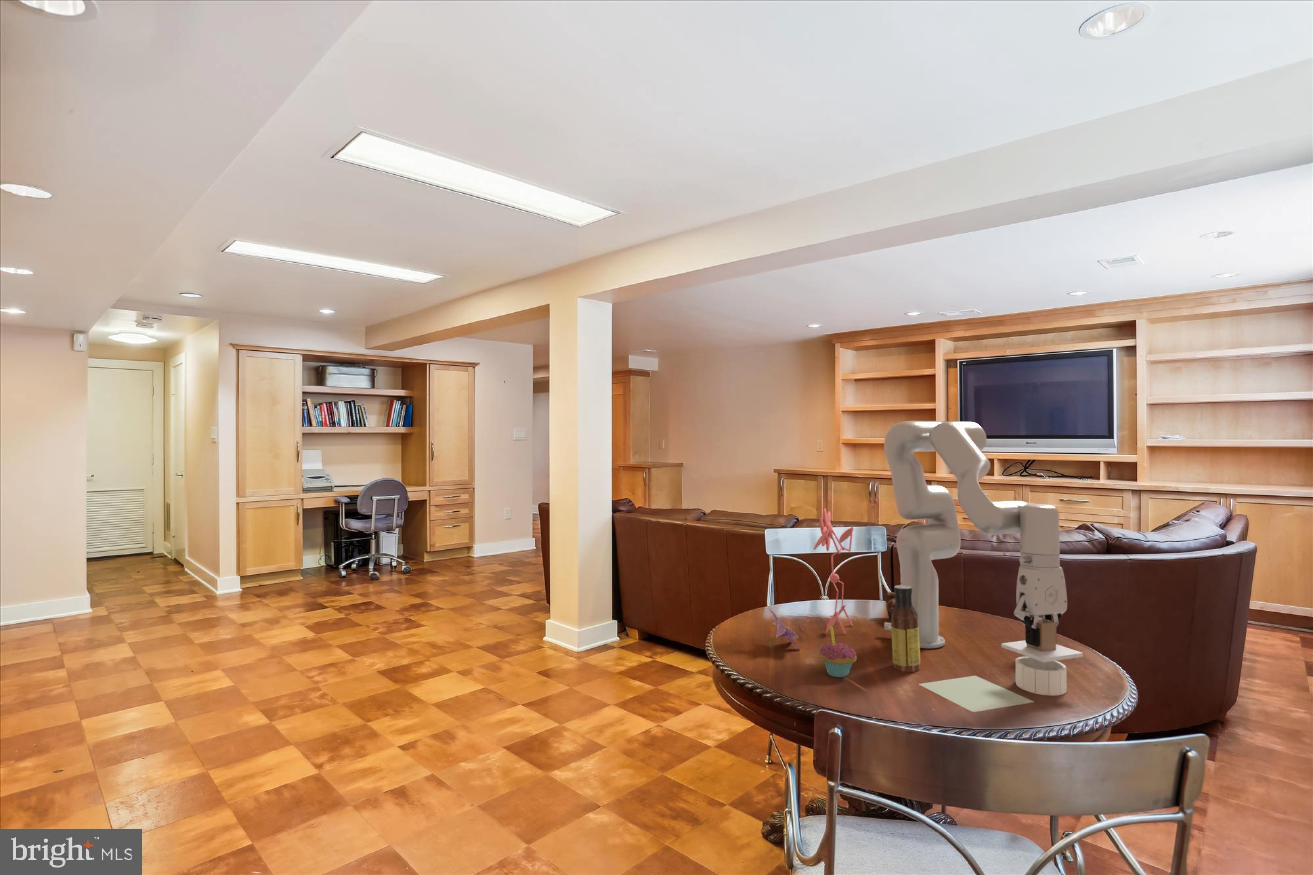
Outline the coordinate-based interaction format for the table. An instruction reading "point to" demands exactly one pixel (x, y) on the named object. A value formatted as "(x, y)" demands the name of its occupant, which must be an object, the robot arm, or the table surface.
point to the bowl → (1041, 676)
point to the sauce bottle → (905, 631)
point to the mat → (975, 693)
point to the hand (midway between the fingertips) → (1040, 642)
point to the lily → (783, 631)
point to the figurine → (825, 539)
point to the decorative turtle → (890, 602)
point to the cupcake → (837, 657)
